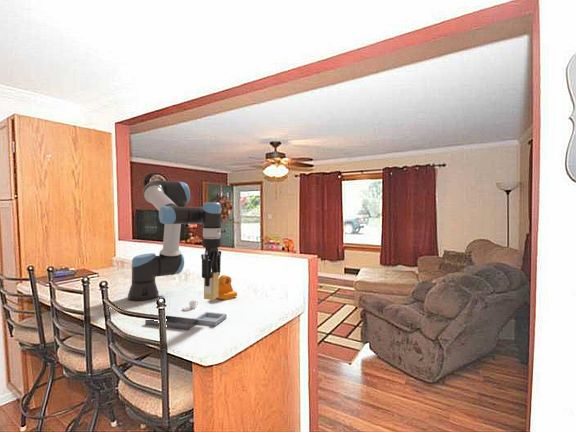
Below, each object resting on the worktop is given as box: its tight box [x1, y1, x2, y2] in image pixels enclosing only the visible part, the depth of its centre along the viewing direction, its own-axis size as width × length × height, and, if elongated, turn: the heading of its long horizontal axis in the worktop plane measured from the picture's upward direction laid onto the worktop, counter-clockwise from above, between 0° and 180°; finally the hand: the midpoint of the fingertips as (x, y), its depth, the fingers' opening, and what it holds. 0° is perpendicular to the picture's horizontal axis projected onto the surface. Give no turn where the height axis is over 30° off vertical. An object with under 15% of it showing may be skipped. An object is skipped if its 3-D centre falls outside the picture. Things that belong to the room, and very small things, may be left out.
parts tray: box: [194, 311, 227, 327], centre depth 131 cm, size 10×10×2 cm
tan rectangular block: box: [203, 271, 220, 301], centre depth 131 cm, size 4×4×11 cm
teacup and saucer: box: [182, 300, 202, 312], centre depth 147 cm, size 9×8×4 cm
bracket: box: [217, 274, 238, 301], centre depth 167 cm, size 11×7×12 cm, turn 131°
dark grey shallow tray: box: [144, 315, 199, 331], centre depth 125 cm, size 20×7×2 cm, turn 75°
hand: (211, 291), depth 131 cm, fingers closed on tan rectangular block, 4 cm apart
